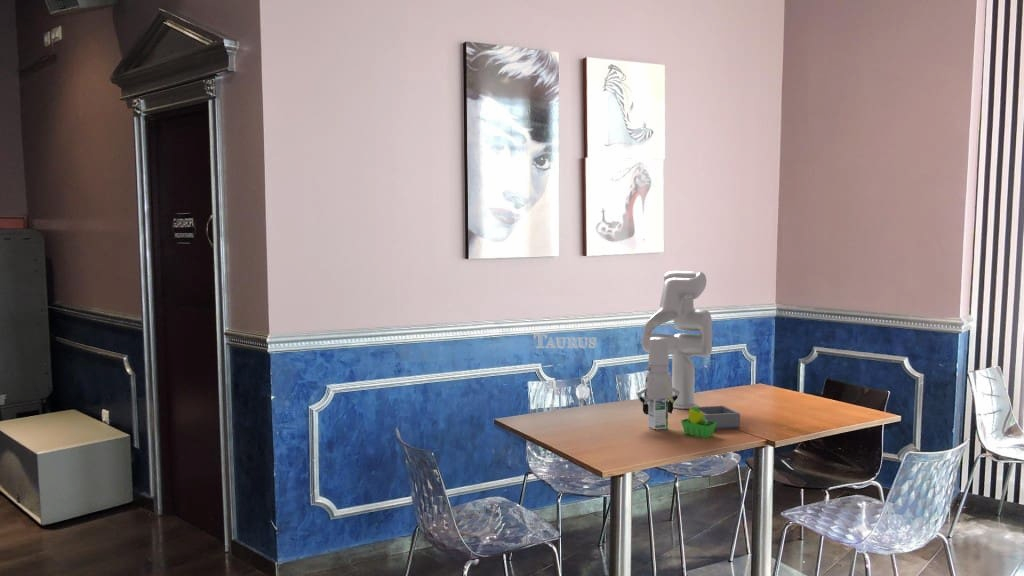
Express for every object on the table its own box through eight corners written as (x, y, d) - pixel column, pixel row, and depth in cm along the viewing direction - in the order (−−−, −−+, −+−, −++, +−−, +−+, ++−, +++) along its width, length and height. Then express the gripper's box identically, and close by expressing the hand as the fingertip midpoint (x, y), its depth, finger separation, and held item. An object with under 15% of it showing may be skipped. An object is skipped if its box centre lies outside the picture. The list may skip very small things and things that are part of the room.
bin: (690, 422, 317) (690, 407, 317) (723, 420, 320) (723, 405, 319) (705, 430, 303) (705, 415, 303) (739, 428, 306) (739, 413, 306)
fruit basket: (717, 435, 296) (718, 405, 295) (704, 440, 290) (705, 409, 289) (691, 430, 304) (691, 401, 303) (677, 434, 298) (678, 404, 297)
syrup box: (654, 430, 304) (654, 392, 303) (647, 426, 310) (648, 389, 309) (668, 429, 306) (668, 391, 305) (661, 425, 312) (661, 388, 311)
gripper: (640, 371, 301) (639, 416, 302) (683, 370, 304) (682, 414, 306) (633, 368, 308) (633, 412, 309) (675, 367, 312) (675, 410, 313)
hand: (657, 413), depth 308 cm, fingers open, 9 cm apart
